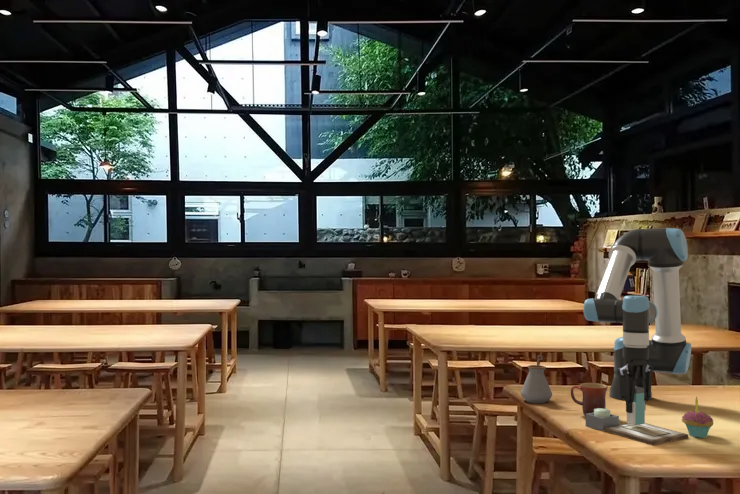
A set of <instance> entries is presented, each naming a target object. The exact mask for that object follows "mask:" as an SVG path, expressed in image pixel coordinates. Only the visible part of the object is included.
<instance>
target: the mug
mask: <svg viewBox="0 0 740 494" xmlns="http://www.w3.org/2000/svg"><path fill="white" fill-rule="evenodd" d="M574 389H578V390H579V391H581V393H582V400H578V399H577V398H576V397H575V393H574ZM607 390H608V385H606V384H603V383H596V382H584V383H583V382H582V383H580V384H579V385H572V387H571V388H570V397H571V399H572V401H573V402H574V403H575V404H577V405H578V406H581V407H582V409H581V410H582V413H583V415H584V416H585V417H586V414H588V413H594V409H597V408H602V409H607V408H606V406H607V405H606V403H607V402H606V395H607Z"/></svg>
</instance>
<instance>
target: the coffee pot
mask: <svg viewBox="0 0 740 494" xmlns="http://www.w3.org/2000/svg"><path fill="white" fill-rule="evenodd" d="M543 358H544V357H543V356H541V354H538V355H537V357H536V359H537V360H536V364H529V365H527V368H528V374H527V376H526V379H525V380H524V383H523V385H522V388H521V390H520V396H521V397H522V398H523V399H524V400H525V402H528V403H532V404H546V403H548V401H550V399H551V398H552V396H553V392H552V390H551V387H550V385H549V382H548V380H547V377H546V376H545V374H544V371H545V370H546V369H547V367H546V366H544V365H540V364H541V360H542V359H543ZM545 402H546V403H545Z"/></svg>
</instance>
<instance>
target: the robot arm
mask: <svg viewBox="0 0 740 494" xmlns="http://www.w3.org/2000/svg"><path fill="white" fill-rule="evenodd" d="M688 253H689V251H688V242H687V238H686V234H685V232H684V231H683V230H682V229H680V228H674V227H673V228H671V227H662V228H660V227H659V228H658V227H657V228H636V229H632V230H629V231H627V232H626V233H624V234H621V236H619V237H618V238H617V239H616V240H615V241H614V243H613V244H612V245H611V246H610V249H609V251H608V262H607V264H606V268H605V270H604V273H603V276H602V279H601V280H600V283H599V287H598V289H597V291H596V294H595V296H594V298H593V297H592V298H587V299H585V300H584V301H583V302H584V303H583V315H584V318H585V320H586V321H591V322H597V323H616V324H617V323H618V324H622V336H620V337H617V338H616V339H614V344H613V345H614V347H613V348H614V349H613V359H614V360H613V361H614V363H613V372H614V373H613V374H614V375H613V378H612V382H611V385H610V387H609V395H608V396H609V397H611V398H613V399H616V400H622V401H623V402H625V412H626V424H629V423H631V424H636V403H635V402H634V394H635V386H638V387H642V388H644V423H646V410H647V409H646V402H649V401H650V400H652V399H653V392H652V381H653V380H652V377H653V376H652V375H653V373H662V374H672V375H674V374H676V375H683V374H686V373H687V372H688V369H689V367H690V361H691V357H692V344H691V342H687V338H686V337H687V336H686V335H684V334H683V333H682V322H681V320H682V319H681V317H682V316H681V299H680V298H681V297H680V296H681V295H680V294H681V293H680V275H679V274H680V269H681V268H682V267H683V266H684V262H685V261H688V257H689V254H688ZM636 261H647V266H648V268H650V269H651V270H652V278H653V281H652V282H653V301H654V302H653V301H652V300H651V301H650V300H649V297H648V296H645V295H625V296H623V299H620V297H621V295H622V293H623V290H624V287H625V284H626V280H627V278H628V276H629V273H630V269H631V267H632V266H633V265H635V263H636ZM653 322H654V325H655V332H654V334H653V335H652V336H651V340H650V328H649V327H650V324H651V323H653Z"/></svg>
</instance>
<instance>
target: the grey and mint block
mask: <svg viewBox="0 0 740 494" xmlns="http://www.w3.org/2000/svg"><path fill="white" fill-rule="evenodd" d="M634 402H635V403H636V424H634V425H641V424H644V388H642V387H638V386H635V394H634ZM630 424H631V423H630Z"/></svg>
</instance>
